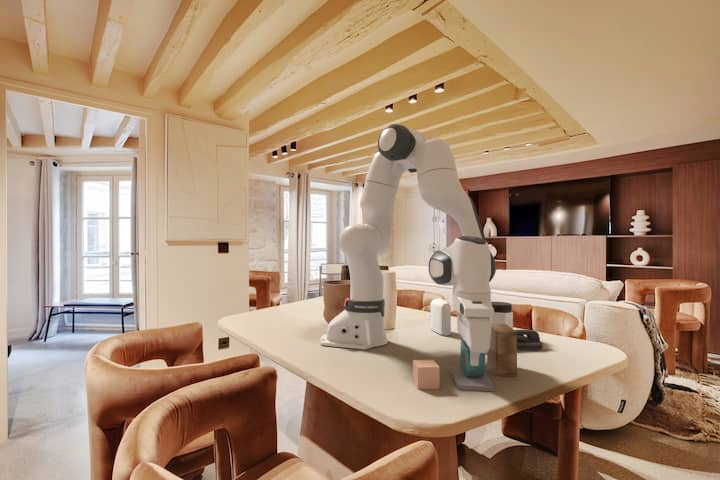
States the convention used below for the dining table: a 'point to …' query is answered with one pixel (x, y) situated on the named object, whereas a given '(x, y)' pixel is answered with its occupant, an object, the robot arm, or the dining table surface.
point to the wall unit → (503, 350)
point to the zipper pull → (528, 340)
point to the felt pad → (471, 381)
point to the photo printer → (440, 317)
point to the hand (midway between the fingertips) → (471, 360)
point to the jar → (502, 313)
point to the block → (426, 374)
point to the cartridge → (465, 362)
